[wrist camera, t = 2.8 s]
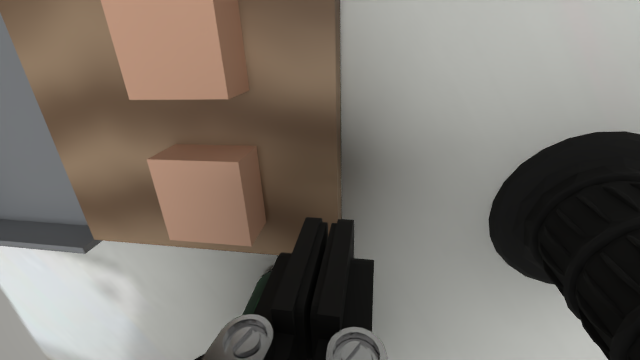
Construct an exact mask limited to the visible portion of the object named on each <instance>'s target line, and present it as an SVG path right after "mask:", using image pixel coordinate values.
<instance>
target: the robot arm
mask: <svg viewBox="0 0 640 360" xmlns="http://www.w3.org/2000/svg"><path fill="white" fill-rule="evenodd" d="M373 273H374V260H366V259H355V258H354V220H345V219H338V221H337V223H332V224H331V227H330V231H329V236H328V223H327V222H323V221H322V218H314V217H306V218H305V221H304V223H303V226H302V228H301V231H300V234H299V236H298V239H297V241H296V244H295V247H294V249H293V252H292V253H285V252H281V253H280V254H279V256H278V258H277V260H276V263H275V265H274V267H273V269H272V272H271V274H270V276H269V279H268V281H267V283H266V285H265V288H264V290H263V292H262V295H261V297H260V299H259V301H258V304H257V306H256V308H255V310H254V313H253V314H248V315H242V316H240V317H237V318H235V319H233V320H232V321H230V322H229V323H228V324H227V325H226V326H225V327H224V328H223V329H222V330H221V331H220V333H219V334H218V336H217V337H216V339H215V340H214V342H213V343H212V344H211V346H210V347H209V349H208V350H207V352H206V353H205V354H203V355H202V356H200V357H198V358H196V359H195V360H388V359H387V354H386V350H385V348H384V345H383V343H382V342H381V340H380V339H379V338H378V337H377V336H376V335H375V334H374V333H372V306H373Z"/></svg>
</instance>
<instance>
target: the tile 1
mask: <svg viewBox="0 0 640 360" xmlns="http://www.w3.org/2000/svg"><path fill="white" fill-rule="evenodd" d="M101 3H102V7H103V10H104V14H105V17H106V21H107V24H108V28H109V31H110V35H111V38H112V42H113V45H114V48H115V52H116V55H117V59H118V62H119V66H120V69H121V73H122V76H123V80H124V83H125V86H126V90H127V93H128V97H129V100H202V99H230V98H233V97H235V96H237V95H240V94H242V93H245V92H247V91H249V83H248V75H247V67H246V59H245V52H244V44H243V36H242V28H241V20H240V12H239V5H238V0H101Z"/></svg>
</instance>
